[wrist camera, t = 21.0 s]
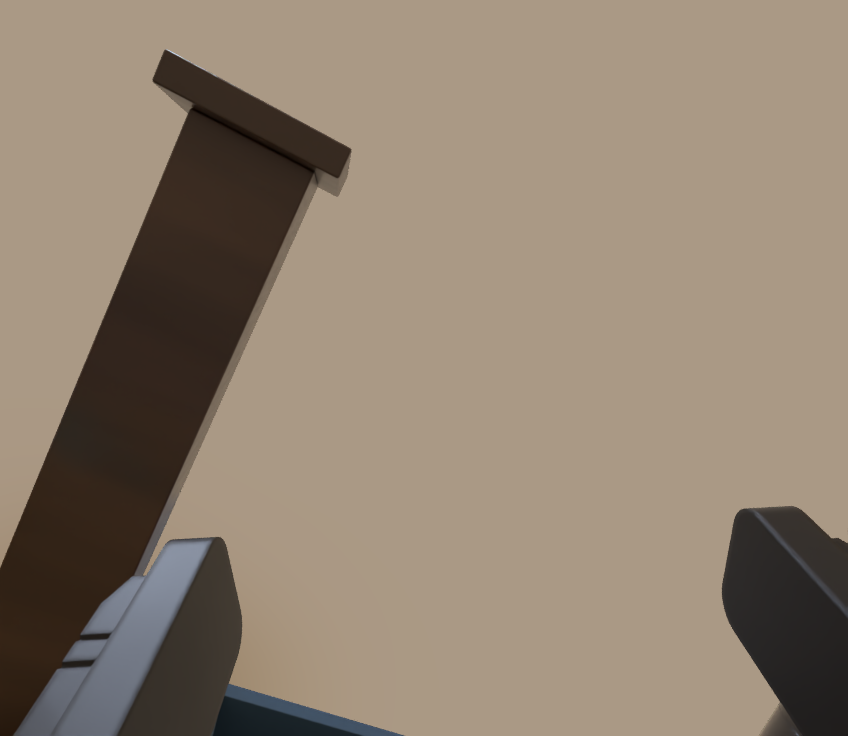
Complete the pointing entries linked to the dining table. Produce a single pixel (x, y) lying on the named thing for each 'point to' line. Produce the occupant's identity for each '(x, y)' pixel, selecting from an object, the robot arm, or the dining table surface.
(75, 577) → the stand
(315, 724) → the bin
